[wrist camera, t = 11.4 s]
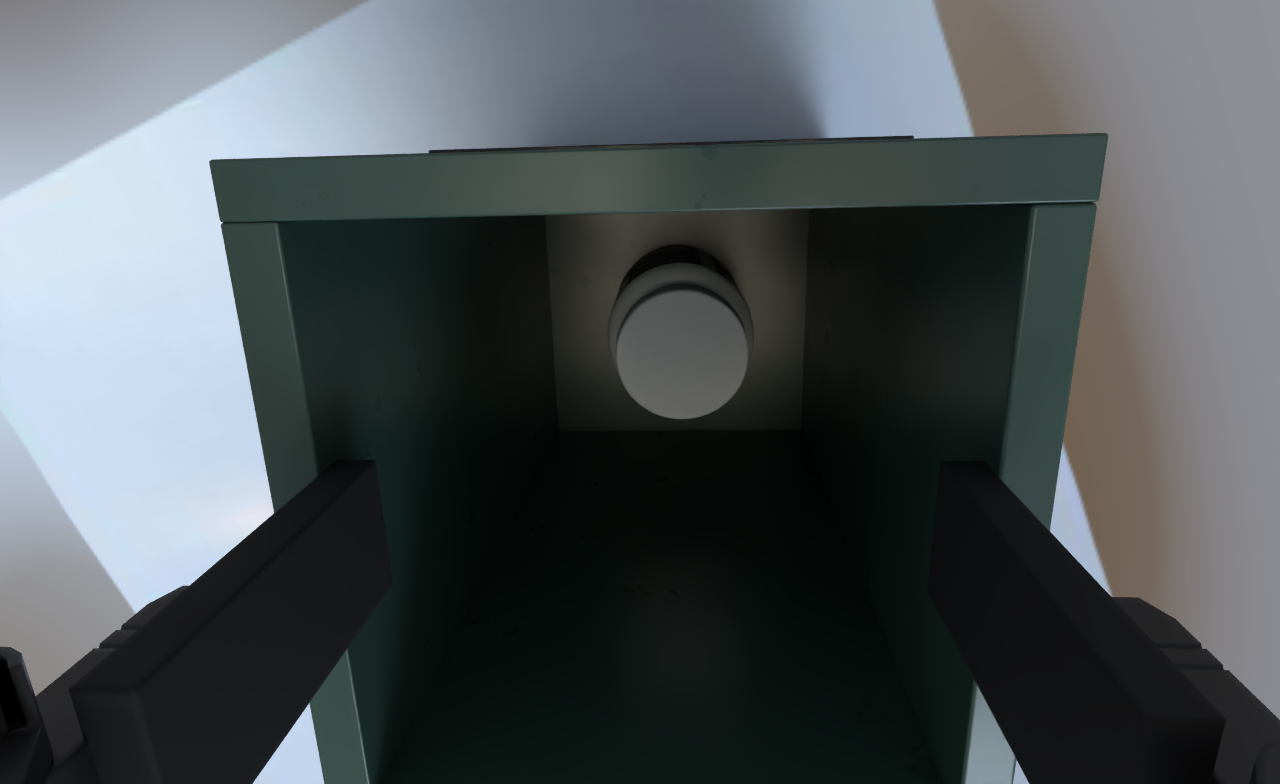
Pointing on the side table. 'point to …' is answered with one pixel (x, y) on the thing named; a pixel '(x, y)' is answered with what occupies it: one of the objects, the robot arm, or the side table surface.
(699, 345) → the pill bottle
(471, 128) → the side table surface
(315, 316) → the green banded storage bin
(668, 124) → the side table surface
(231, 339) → the side table surface
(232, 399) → the side table surface
